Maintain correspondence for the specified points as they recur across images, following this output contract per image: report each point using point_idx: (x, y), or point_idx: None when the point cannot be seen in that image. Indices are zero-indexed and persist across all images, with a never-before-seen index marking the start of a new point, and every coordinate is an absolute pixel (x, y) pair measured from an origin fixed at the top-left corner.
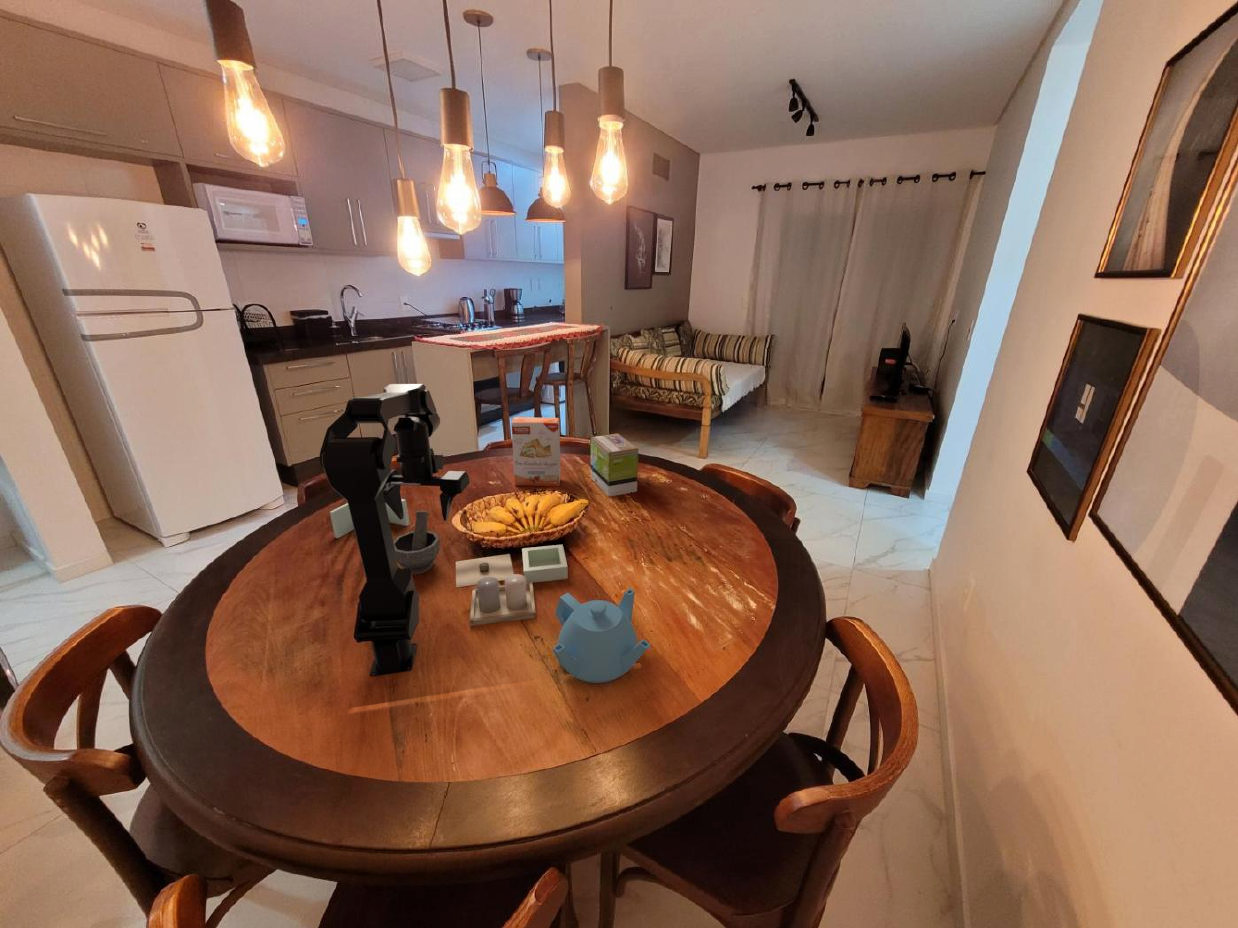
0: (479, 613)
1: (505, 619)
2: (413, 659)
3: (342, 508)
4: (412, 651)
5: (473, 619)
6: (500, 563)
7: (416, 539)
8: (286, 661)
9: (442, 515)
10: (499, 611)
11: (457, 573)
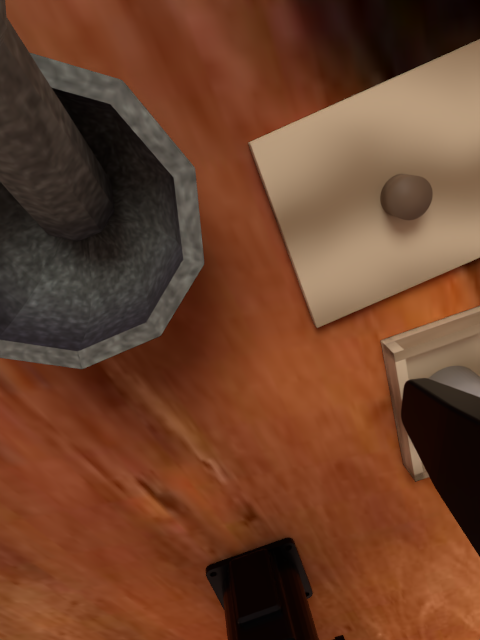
0: None
1: None
2: (306, 577)
3: None
4: (293, 563)
5: (424, 475)
6: (462, 133)
7: (35, 199)
8: (6, 629)
9: (441, 496)
10: None
11: (292, 240)
